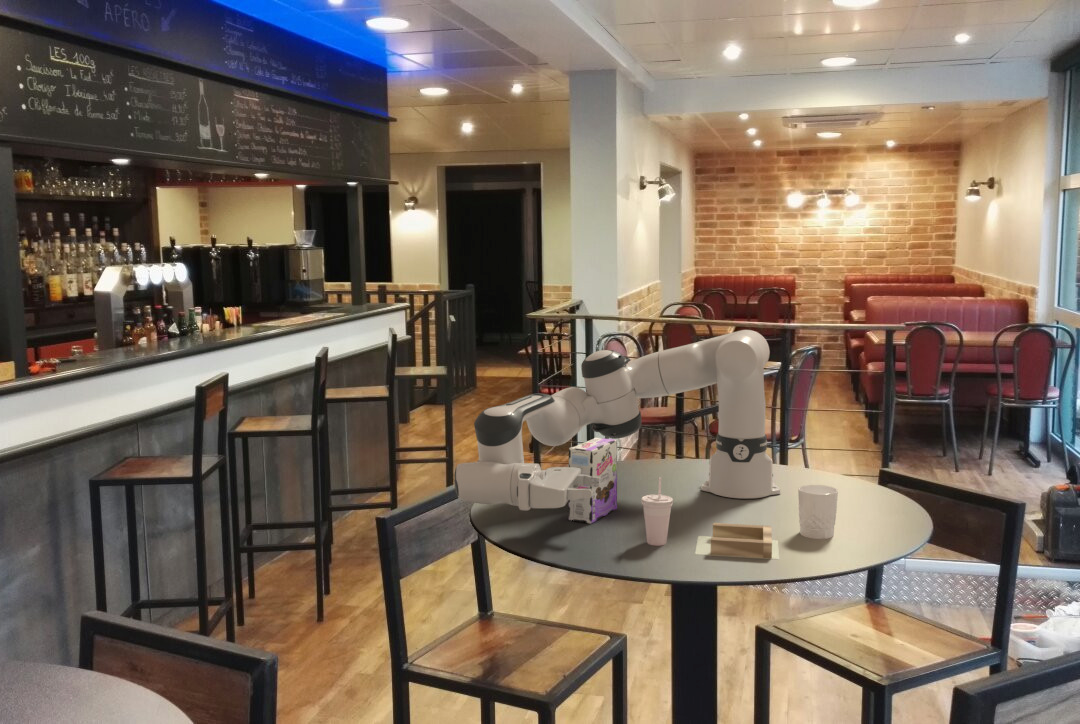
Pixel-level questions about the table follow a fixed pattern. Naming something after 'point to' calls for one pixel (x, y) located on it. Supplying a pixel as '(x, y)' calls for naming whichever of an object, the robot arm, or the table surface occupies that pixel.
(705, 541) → the mat
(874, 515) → the table surface
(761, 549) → the rack
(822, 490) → the white cup
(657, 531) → the smoothie
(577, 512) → the candy box
